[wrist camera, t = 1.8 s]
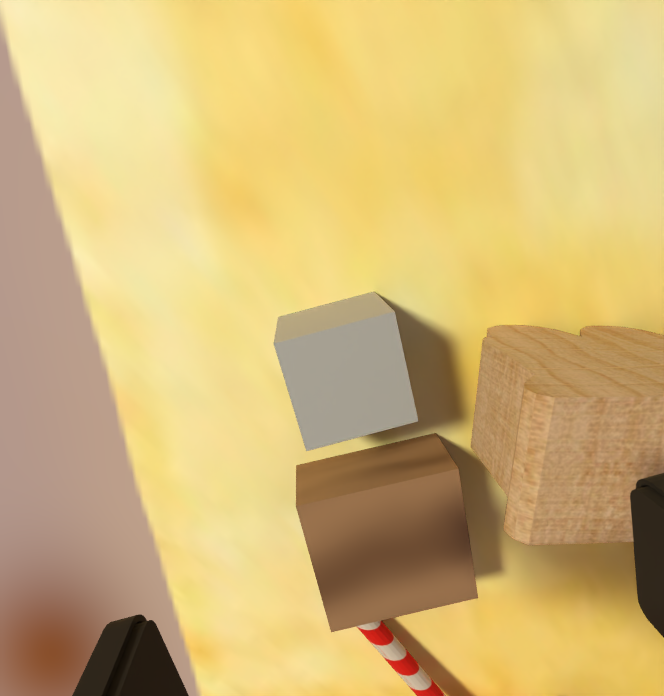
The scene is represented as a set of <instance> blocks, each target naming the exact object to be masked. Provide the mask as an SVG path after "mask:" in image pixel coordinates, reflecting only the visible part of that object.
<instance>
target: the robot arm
mask: <svg viewBox="0 0 664 696" xmlns="http://www.w3.org/2000/svg"><path fill="white" fill-rule="evenodd" d="M630 502H631V515H632V528H633V542H634V555H635V568H636V581H637V594H638V601H639V604H640V607H641V609H642V611H643V613H644V614H645V616H646V618H647V619H648V620H649V621H650V623H651V624H652V625H653V626H654V627H655V628H656V629H657V630H658V632H659V633H660V634H661V635H662V636H663V637H664V473H661V474H658V475H654V476H650V477H646V478H643V479H640V480H638V481H637V483H636V489H634V490H632V491H631V493H630ZM72 696H188V693H187V691H186V689H185V687H184V685H183V682H182V680H181V678H180V676H179V674H178V671H177V669H176V667H175V665H174V663H173V661H172V658H171V656H170V654H169V652H168V650H167V647H166V645H165V643H164V641H163V639H162V636H161V635H160V632H159V630H158V628H157V626H156V624H155V623H154V621H152V620H149V621H147V620H146V618H145V617H144V616H142V615H135V616H132V617H128V618H124V619H121V620H117V621H113V622H110V623H109V624H107V625H106V627H105V629H104V630H103V632H102V634H101V637H100V638H99V640H98V643H97V645H96V647H95V649H94V651H93V653H92V655H91V657H90V659H89V662H88V664H87V666H86V668H85V670H84V672H83V674H82V676H81V679H80V681H79V683H78V685H77V687H76V689H75V692H74V693H73V695H72Z"/></svg>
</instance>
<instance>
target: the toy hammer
mask: <svg viewBox="0 0 664 696" xmlns="http://www.w3.org/2000/svg"><path fill="white" fill-rule="evenodd" d="M357 627H358V629H359V630H360V631H361V632H362V633H363V634H364V635H365V637H366V638H367V639H368V640H369V641H370V642H371V644H372V645H373V646H374V647H375V648H376V649H377V650H378V652H379V653H380V654H381V655H382V656H383V657H384V658H385V660H386V661H387V662H388V663H389V664H390V665H391V666H392V668H393V669H394V670H395V671H396V672H397V673H398V674H399V676H400V677H401V678H402V679H403V680H404V681H405V682H406V684H407V685H408V686H409V687H410V688H411V689H412V690H413V692H414V693H415V694H416V695H417V696H446V695H445V694H444V693H443V692H442V691H441V690H440V688H439V687H438V686H437V685H436V684H435V683H434V681H433V680H432V679H431V678H430V677H429V676H428V674H427V673H426V672H425V671H424V670H423V669H422V667H421V666H420V665H419V664H418V663H417V662H416V660H415V659H414V658H413V657H412V656H411V655H410V653H409V652H408V651H407V650H406V649H405V648H404V646H403V645H402V644H401V643H400V642H399V641H398V639H397V638H396V637H395V636H394V635H393V634H392V633H391V631H390V630H389V629H388V628H387V627H386V626H385V624H384V623H383V622H382V621H377V622H373V623H368V624H364V625H360V626H357Z"/></svg>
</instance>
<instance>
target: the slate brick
mask: <svg viewBox="0 0 664 696" xmlns="http://www.w3.org/2000/svg"><path fill="white" fill-rule="evenodd" d="M274 346H275V349H276V353H277V356H278V359H279V363H280V366H281V369H282V372H283V376H284V379H285V382H286V386H287V389H288V392H289V395H290V399H291V402H292V405H293V409H294V412H295V415H296V418H297V422H298V425H299V428H300V431H301V435H302V438H303V441H304V445H305V448H306V451H309V450H313V449H316V448H320V447H324V446H328V445H331V444H335V443H339V442H343V441H346V440H350V439H354V438H358V437H361V436H365V435H369V434H373V433H376V432H380V431H384V430H388V429H391V428H395V427H399V426H403V425H406V424H410V423H414V422H418V417H417V412H416V408H415V403H414V398H413V394H412V389H411V385H410V380H409V375H408V371H407V366H406V361H405V357H404V352H403V347H402V343H401V338H400V334H399V329H398V324H397V320H396V315H395V311H394V310H393V309H392V308H391V307H390V306H389V305H388V304H387V303H385V302H384V301H383V300H382V299H381V298H380V297H379V296H378V295H377V294H376V293H375V292H371V293H367V294H363V295H359V296H356V297H352V298H348V299H344V300H340V301H337V302H333V303H329V304H325V305H322V306H318V307H314V308H310V309H307V310H303V311H299V312H295V313H291V314H288V315H284V316H280V317H278V322H277V327H276V333H275V339H274Z"/></svg>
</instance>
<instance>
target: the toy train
mask: <svg viewBox="0 0 664 696" xmlns="http://www.w3.org/2000/svg"><path fill="white" fill-rule="evenodd" d="M471 448H472V450H473V451H474V452H475V454H476V455H477V456H478V458H479V459H480V460H481V462H482V463H483V464H484V466H485V467H486V468H487V470H488V471H489V472H490V474H491V475H492V476H493V478H494V479H495V480H496V481H497V483H498V484H499V485H500V487H501V488H502V489H503V491H504V492H505V493H506V495H507V496H508V499H507V506H506V513H505V520H504V531H505V532H506V533H507V534H508V535H509V536H511V537H512V538H513V539H514V540H517V541H519V542H522V543H524V544H527V545H548V544H580V543H613V542H633V528H632V515H631V502H630V493H631V491H632V490H634V489H636V483H637V481H638V480H640V479H643V478H646V477H650V476H654V475H658V474H661V473H664V335H661V334H656V333H652V332H648V331H644V330H639V329H632V328H626V327H615V326H588V327H585V328H583V329H581V330H580V336H577V335H573V334H570V333H566V332H562V331H559V330H554V329H549V328H543V327H535V326H525V325H502V326H495V327H491V328H488V330H487V337H485V338H484V339H483V343H482V351H481V360H480V369H479V378H478V387H477V395H476V404H475V413H474V422H473V430H472V439H471Z"/></svg>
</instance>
